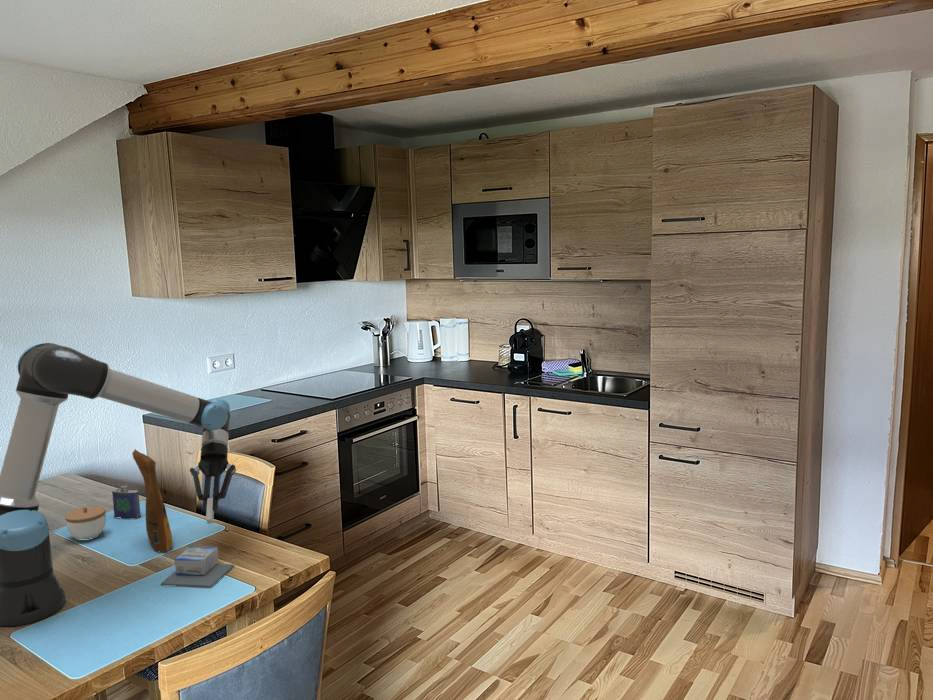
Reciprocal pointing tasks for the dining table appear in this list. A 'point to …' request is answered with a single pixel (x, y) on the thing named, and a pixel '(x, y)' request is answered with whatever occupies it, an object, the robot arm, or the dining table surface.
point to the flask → (126, 503)
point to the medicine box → (196, 561)
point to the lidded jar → (86, 522)
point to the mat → (199, 577)
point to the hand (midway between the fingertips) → (209, 521)
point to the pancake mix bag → (154, 505)
